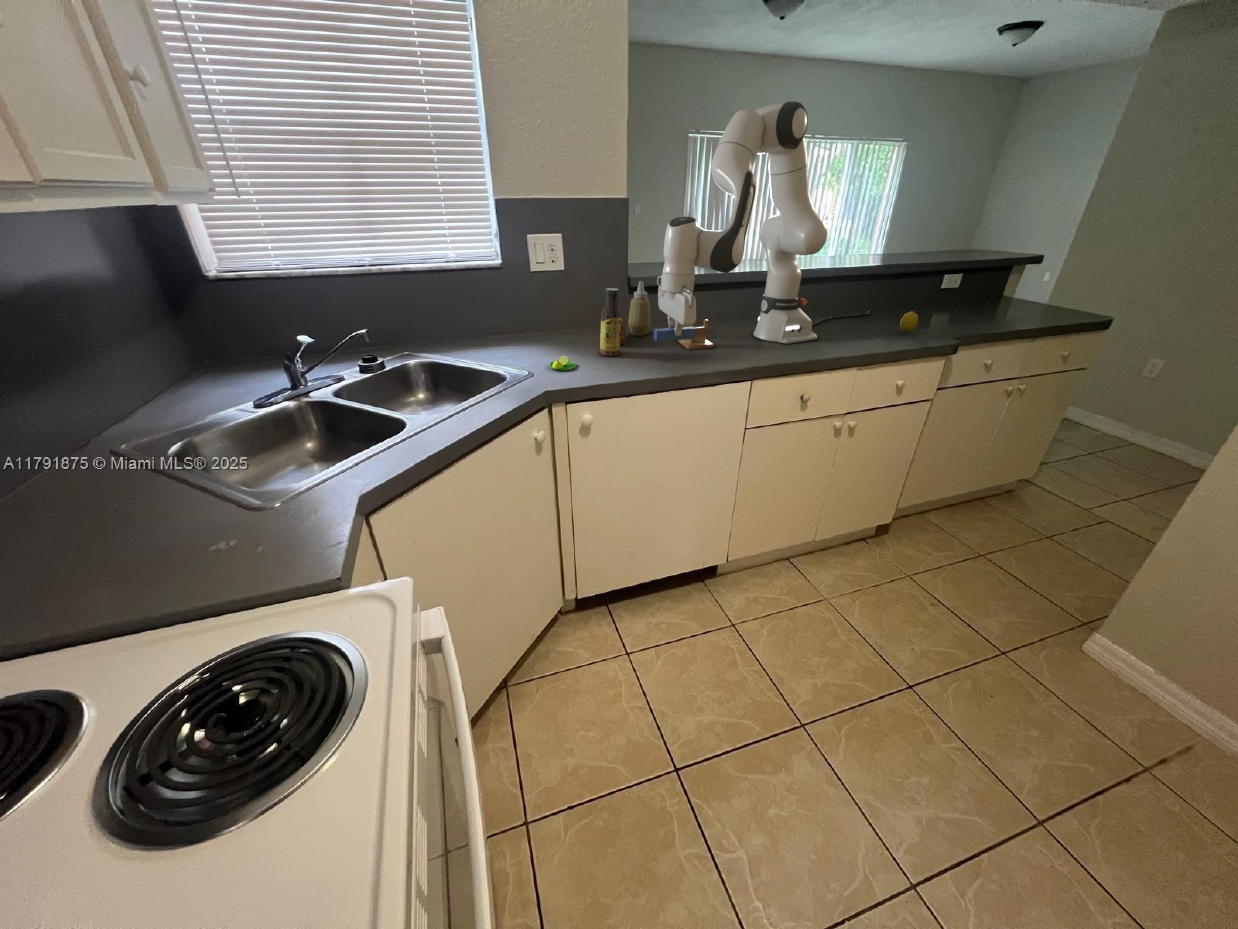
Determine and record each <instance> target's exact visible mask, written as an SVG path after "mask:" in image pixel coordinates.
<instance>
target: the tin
mask: <svg viewBox="0 0 1238 929" xmlns="http://www.w3.org/2000/svg"><path fill="white" fill-rule="evenodd" d="M626 328H627V327H626V323H625V321H624V320H623V319H622V318H621V330H620V345H623V344H624V343H625V341H626Z"/></svg>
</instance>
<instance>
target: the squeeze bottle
mask: <svg viewBox="0 0 1238 929" xmlns="http://www.w3.org/2000/svg"><path fill="white" fill-rule="evenodd" d="M651 322H652V321H651V302H650V300H649V299H648V292H647V291H645V287H644V281H643V280H639V282H638V286H637V290H636V291H634V292H633V298H632V299H630V306H629V313H628V321H627V324H628V327H629V331H630V334H631V335H633V336H639V337H642V336H646V335H647V334H648V333H649V330H650V328H651V325H652V323H651Z"/></svg>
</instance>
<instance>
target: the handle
mask: <svg viewBox="0 0 1238 929" xmlns="http://www.w3.org/2000/svg"><path fill="white" fill-rule="evenodd" d="M695 332H696V328H694V327H693V326H689V327H683V328H682V330H681V335H680V336H676V335H675V334H674V328H669V327H664V328H663V327H662V328H654V329H653V341H655V342H658V343H659V342H671V341H677V340H685V339H695Z"/></svg>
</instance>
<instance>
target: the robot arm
mask: <svg viewBox="0 0 1238 929" xmlns="http://www.w3.org/2000/svg"><path fill="white" fill-rule="evenodd" d="M726 125H727V126H726V127H725V129H724V131H723V133H722V135H721V137H720V139H719V141H718V143H717V147H716V149H715V152H714V154H713V157H712V160H711V164H710V174H711V177H712V179H713V181H714V183H715V184H716V186H717V187H719V188H720V189H721V191H723V192H725V193H726V194H728V195H730V196H732V197H733V204H732V208H731V213H730V216H729V221H728V225H727V227H726V228H725V229H724V230H719V231H718V230H708V229H704V228H703V227H701V226H699V225H698V221H697V219H696V218H695V217H692V216H677V217H674V218H672V219H671V220H670V221H668V222H667V226H666V230H665V235H664V242H663V259H664V264H663V268H662V274H661V275H659V276H658V277H657V280H656V284H657V286H658V288H657V305H658V309H659V310H660V311H661V312H663V313H664V314H665V315H667V322H668V323H667V324H668V328H674V334H675V335H676V336H680V335H681V330H682V328H683V326H687V325H694V323H695V324H696V321H697V319H696V313H697V299H696V297H695V295H693V292H694V289H695V277H696V268H700V269H706V270H712V271H716V272H720V273H723V274H728V273H730V272H732V271H733V270H734V269H737V267H738V266H739V265H740V264H741V263H742V261H743V258H744V253H745V244H746V237H747V233H748V228H749V225H750V219H751V216H752V213H753V212H752V211H753V208H754V203H755V198H756V192H757V178H756V176H755V174H754V173H753V168H754V165H755V163H756V160H757V156H758V155H763V154H768V173H769V174H768V175H769V187H770V188H769V189H770V199H771V202H772V204H773V206H775V207H776V209H777V210H778V212H779V214H777V215H772V216H769V217H768V218H766V219H765V220H764V221H763V223H762V224H761V227H760V230H759V241H760V243H761V244H762V246H763V248H764V251H765V256H766V264H767V275H766V282H765V289H764V293H763V294H762V299H761V303H760V314H759V316H758V318H757V324H756V327H755V329H754V331H753V333H752V335H753V336H754V337H755V338H757V339H760V340H764V341H767V342H777V343H781V344H794V343H801V342H807V341H813V340H814V341H815V340H817V339H818V335H817V334H816V333H814V331H813V327H814V326H815V325H818V324H819V323H821V322H824V321H828V320H834V319H835V320H836V319H843V318H854V317H855V318H856V317H864V316H868V315H869V314H870V313H871V309H870V310H869V309H868V310H869V311H867V312H865V313H858V314H857V313H856V314H847V315H846V314H845V315H838V316H829V317H825V318H821V319H819V320H817V321H815V322H814V323H813V321H812V319H811V318H810V317H809V316H808V315H807V314H806V312H804V311H803V310H802V309H801V305H802V306H805V305H806V304H807V299H806V298H803V297H802V298H800V297H799V296H798V295H799V290H800V285H801V281H802V271H801V269H800V267H799V265H798V262H797V259H796V256H809V255H810V256H811V255H815V254H817V253H819V252H820V251H821V250H822V249H823V248H824V246H825V245H826V242H827V239H828V228H827V225H826V224H825V222H824V221H823V220H822V219H821V218H820V216H819V215H818V213H817V212H816V209H815V206H814V203H813V201H812V197H811V193H810V184H809V182H810V181H809V167H808V166H809V165H808V152H807V143H806V139H805V136H806V133H807V130H808V125H809V115H808V112H807V110H806V108H805V106H804V105H803V103H801V102H799V101H794V100H793V101H792V100H791V101H786V102H780V103H773V104H767V105H765V106H762V107H759V108H757V109H754V110H752V109H748V108H744V109H741V110H738V111H737V112H735V114H734V115H733V116H732V117H731V119H730V121H729V122H728V124H726ZM695 267H696V268H695Z"/></svg>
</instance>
